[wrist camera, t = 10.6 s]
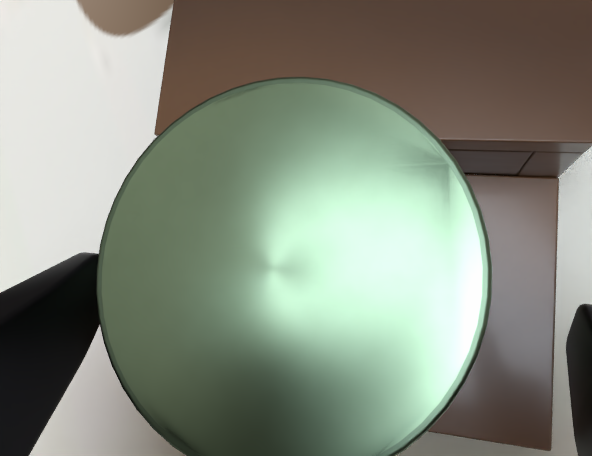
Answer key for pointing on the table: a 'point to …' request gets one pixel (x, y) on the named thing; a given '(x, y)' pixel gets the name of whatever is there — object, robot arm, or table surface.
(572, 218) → the table surface
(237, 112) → the tea tin
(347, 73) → the brown stand
